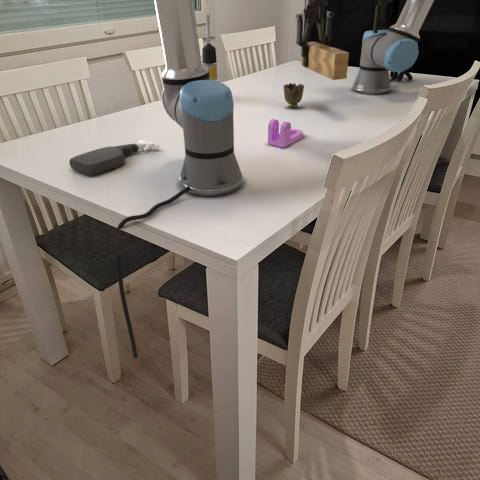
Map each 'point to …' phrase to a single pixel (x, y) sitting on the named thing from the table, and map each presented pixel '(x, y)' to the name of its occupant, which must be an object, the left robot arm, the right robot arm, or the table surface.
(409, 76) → the squiggle
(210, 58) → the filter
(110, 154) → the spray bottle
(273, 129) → the bracket
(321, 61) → the bar
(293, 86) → the cup
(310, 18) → the right robot arm
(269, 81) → the table surface
